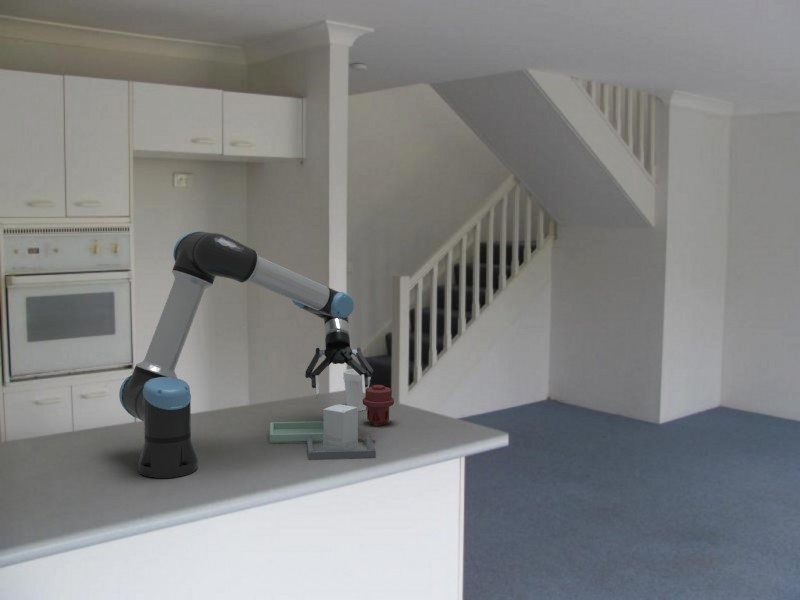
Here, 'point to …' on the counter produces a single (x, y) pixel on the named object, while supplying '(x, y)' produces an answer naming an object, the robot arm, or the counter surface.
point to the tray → (296, 432)
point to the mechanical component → (378, 404)
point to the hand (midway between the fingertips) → (340, 396)
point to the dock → (342, 452)
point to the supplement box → (340, 428)
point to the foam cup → (354, 389)
